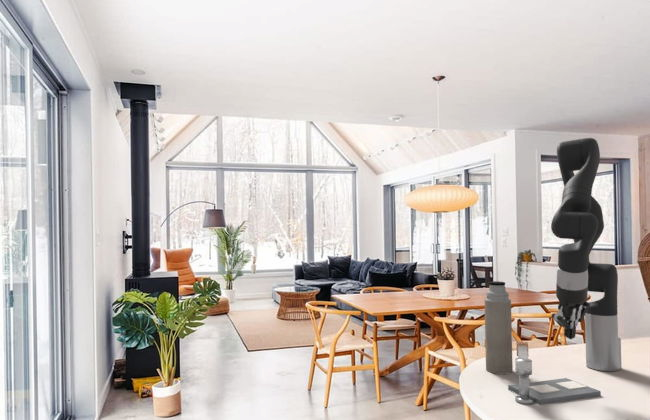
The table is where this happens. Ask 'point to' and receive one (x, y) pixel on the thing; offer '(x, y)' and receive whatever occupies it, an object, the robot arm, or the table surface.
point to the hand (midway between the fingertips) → (569, 337)
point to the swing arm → (523, 359)
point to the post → (524, 391)
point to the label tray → (557, 390)
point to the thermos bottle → (498, 329)
